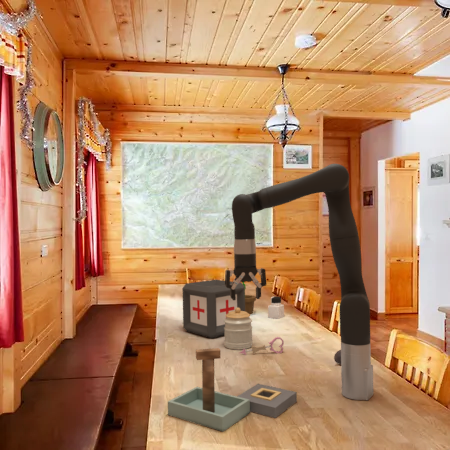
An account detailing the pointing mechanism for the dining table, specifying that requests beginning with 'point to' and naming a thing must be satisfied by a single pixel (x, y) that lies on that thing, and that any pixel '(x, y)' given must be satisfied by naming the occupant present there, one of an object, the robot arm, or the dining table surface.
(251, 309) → the flowerpot
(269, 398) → the plate
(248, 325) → the jar
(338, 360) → the perforated stone tool
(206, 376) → the t key
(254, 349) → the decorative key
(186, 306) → the first aid kit
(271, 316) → the medicine bottle
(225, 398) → the tray
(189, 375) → the dining table surface
